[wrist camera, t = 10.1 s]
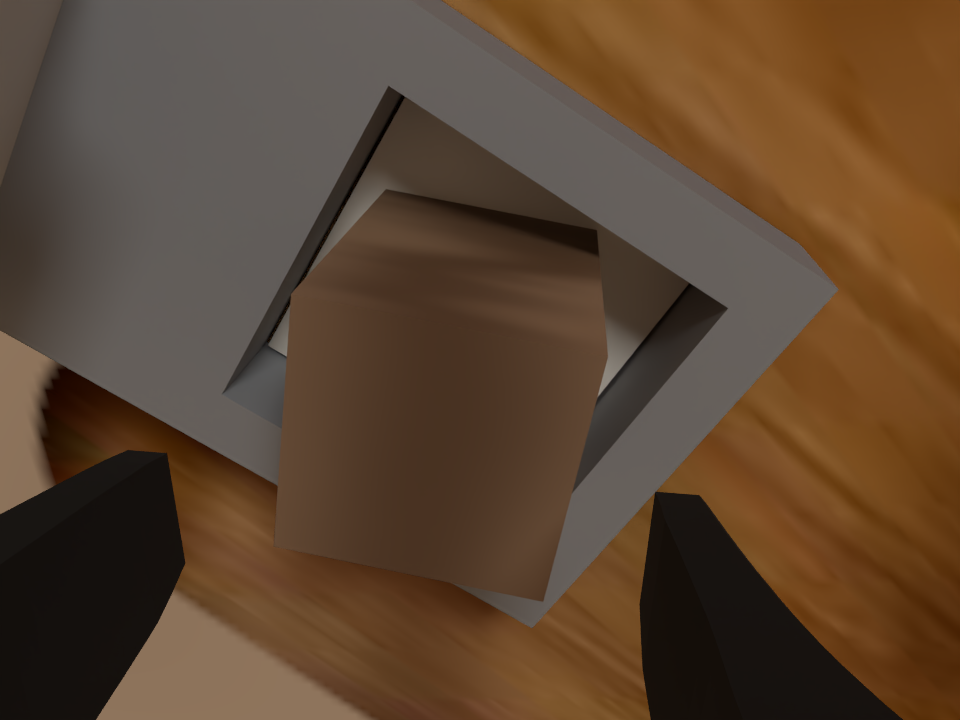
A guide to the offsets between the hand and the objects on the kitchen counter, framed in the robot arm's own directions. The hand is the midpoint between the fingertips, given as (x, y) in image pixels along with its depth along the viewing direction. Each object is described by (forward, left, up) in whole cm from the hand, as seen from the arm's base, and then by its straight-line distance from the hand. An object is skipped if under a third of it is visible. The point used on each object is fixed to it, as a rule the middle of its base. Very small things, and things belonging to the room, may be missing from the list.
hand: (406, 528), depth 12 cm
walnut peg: (0, 0, -9) cm, 9 cm away
